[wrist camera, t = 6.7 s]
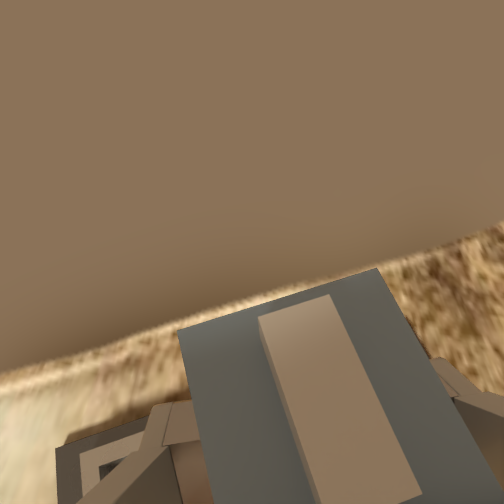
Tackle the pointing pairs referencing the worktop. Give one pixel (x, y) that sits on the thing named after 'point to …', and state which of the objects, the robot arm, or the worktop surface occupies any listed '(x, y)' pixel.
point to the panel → (97, 458)
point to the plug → (328, 405)
